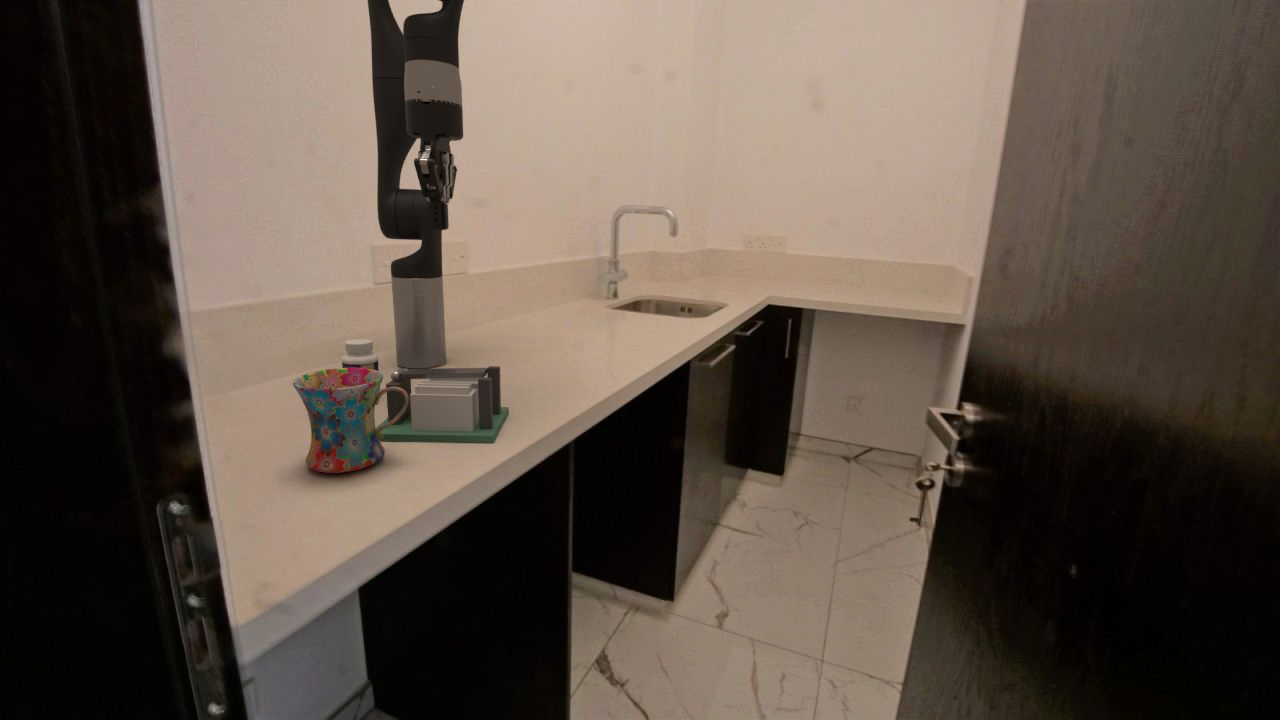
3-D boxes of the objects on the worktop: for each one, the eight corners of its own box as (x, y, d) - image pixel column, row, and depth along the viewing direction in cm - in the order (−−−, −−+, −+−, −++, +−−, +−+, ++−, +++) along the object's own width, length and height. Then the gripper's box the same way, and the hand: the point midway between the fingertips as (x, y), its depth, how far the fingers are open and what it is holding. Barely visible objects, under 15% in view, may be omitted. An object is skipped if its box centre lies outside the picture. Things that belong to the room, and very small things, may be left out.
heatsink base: (401, 411, 88) (398, 360, 86) (508, 413, 89) (507, 362, 87) (369, 440, 77) (365, 382, 75) (493, 443, 78) (491, 385, 76)
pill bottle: (366, 400, 93) (362, 346, 91) (337, 397, 94) (332, 343, 91) (387, 391, 98) (383, 339, 96) (359, 388, 99) (355, 337, 97)
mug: (290, 482, 65) (280, 390, 62) (315, 450, 73) (307, 368, 71) (406, 475, 67) (400, 387, 65) (417, 445, 76) (412, 366, 74)
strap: (398, 375, 82) (397, 368, 82) (488, 373, 83) (487, 366, 83) (391, 380, 80) (390, 373, 79) (483, 378, 80) (483, 371, 80)
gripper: (421, 109, 87) (427, 227, 91) (388, 90, 74) (397, 229, 79) (472, 111, 88) (476, 229, 92) (448, 93, 75) (453, 231, 79)
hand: (439, 229), depth 85 cm, fingers closed
